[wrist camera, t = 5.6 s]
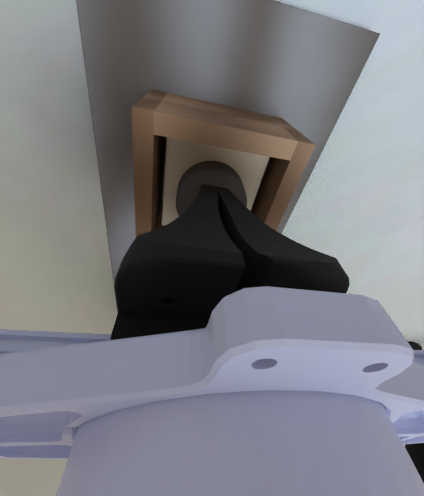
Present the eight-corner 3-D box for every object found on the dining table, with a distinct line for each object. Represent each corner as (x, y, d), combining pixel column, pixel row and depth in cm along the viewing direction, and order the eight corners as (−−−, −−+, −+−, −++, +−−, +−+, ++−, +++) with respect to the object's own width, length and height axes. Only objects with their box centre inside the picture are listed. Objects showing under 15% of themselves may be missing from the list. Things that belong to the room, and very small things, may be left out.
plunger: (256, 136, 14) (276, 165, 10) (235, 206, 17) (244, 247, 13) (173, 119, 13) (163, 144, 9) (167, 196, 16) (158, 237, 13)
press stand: (370, 34, 12) (475, 24, 7) (233, 324, 29) (239, 371, 25) (76, -56, 9) (-33, -152, 5) (121, 316, 27) (106, 367, 23)
